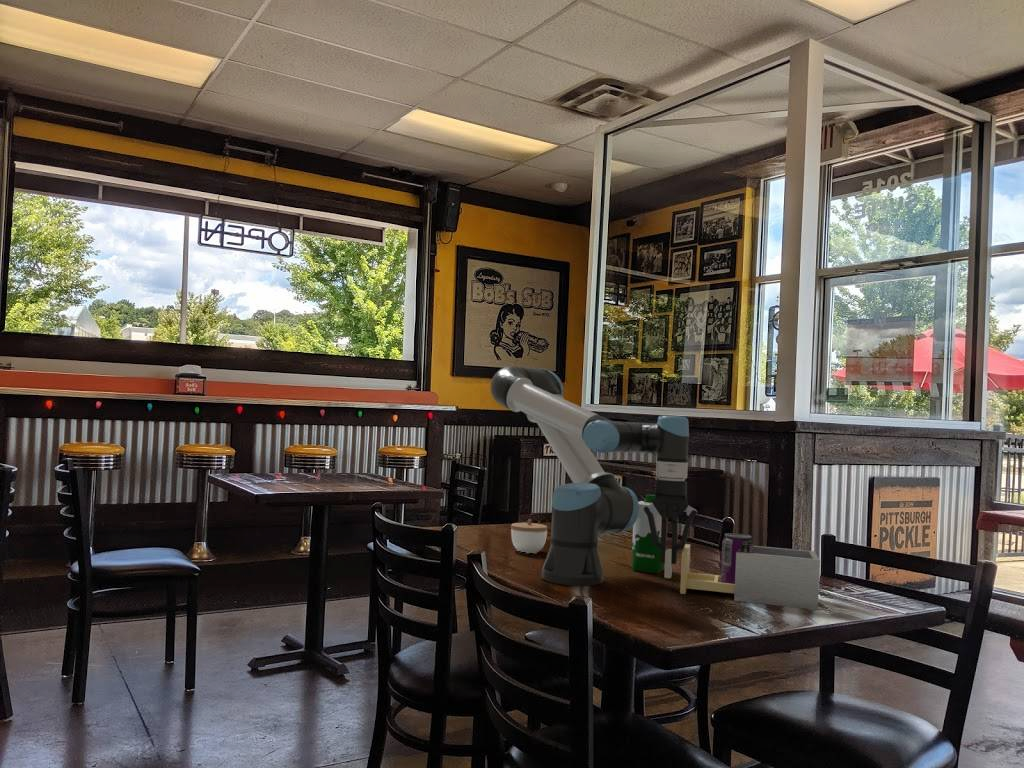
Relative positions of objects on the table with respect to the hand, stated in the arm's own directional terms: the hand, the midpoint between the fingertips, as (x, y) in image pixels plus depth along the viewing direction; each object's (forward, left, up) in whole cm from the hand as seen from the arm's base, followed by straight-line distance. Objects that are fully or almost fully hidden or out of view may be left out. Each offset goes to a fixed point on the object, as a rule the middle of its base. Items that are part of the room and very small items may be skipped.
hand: (668, 576), depth 196 cm
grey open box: (+25, 0, -3) cm, 25 cm away
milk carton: (-7, +21, -3) cm, 23 cm away
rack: (+12, 0, -2) cm, 13 cm away
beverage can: (+16, 0, -1) cm, 16 cm away
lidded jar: (-43, +31, -3) cm, 53 cm away
